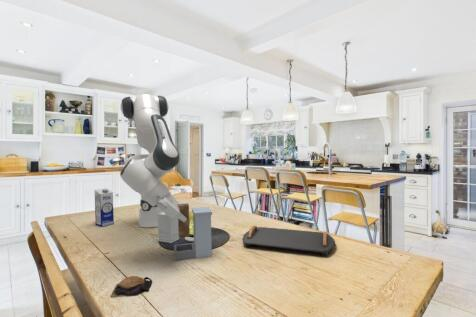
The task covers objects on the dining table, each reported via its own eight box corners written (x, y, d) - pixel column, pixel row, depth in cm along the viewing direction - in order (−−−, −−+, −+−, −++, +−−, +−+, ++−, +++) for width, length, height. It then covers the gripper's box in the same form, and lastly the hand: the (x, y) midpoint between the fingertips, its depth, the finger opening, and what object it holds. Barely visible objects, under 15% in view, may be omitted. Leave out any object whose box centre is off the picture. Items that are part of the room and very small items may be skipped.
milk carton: (108, 222, 148) (106, 187, 147) (114, 224, 144) (113, 188, 143) (95, 225, 142) (94, 189, 141) (101, 227, 138) (100, 190, 137)
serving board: (334, 239, 115) (334, 226, 115) (335, 260, 93) (335, 244, 93) (252, 231, 128) (252, 219, 128) (236, 248, 106) (236, 234, 106)
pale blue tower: (174, 261, 94) (172, 214, 93) (173, 252, 102) (172, 209, 102) (212, 256, 97) (212, 211, 97) (209, 248, 106) (208, 206, 105)
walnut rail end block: (178, 237, 96) (178, 206, 96) (178, 234, 100) (177, 204, 100) (189, 236, 97) (188, 205, 97) (188, 233, 101) (188, 203, 101)
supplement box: (181, 238, 119) (180, 211, 118) (170, 243, 112) (170, 215, 111) (168, 236, 122) (168, 210, 121) (157, 241, 115) (157, 213, 115)
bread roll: (108, 301, 71) (108, 287, 70) (117, 285, 79) (116, 273, 79) (149, 296, 73) (148, 283, 72) (153, 281, 81) (152, 269, 81)
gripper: (163, 192, 86) (193, 219, 89) (164, 185, 106) (189, 207, 109) (149, 206, 85) (180, 233, 88) (153, 196, 105) (178, 218, 108)
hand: (185, 218), depth 99 cm, fingers closed on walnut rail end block, 4 cm apart
